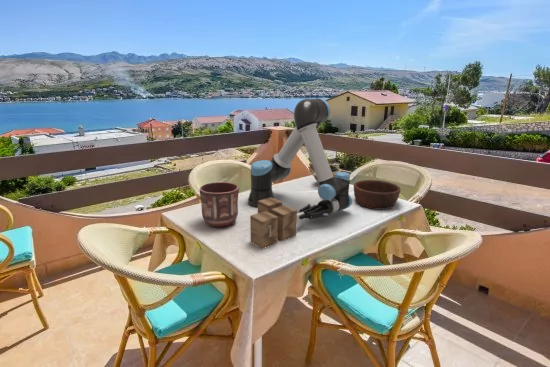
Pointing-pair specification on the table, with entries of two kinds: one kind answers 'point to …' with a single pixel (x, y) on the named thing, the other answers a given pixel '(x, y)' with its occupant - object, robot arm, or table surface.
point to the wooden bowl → (376, 194)
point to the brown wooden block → (285, 221)
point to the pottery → (219, 203)
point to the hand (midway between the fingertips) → (293, 218)
